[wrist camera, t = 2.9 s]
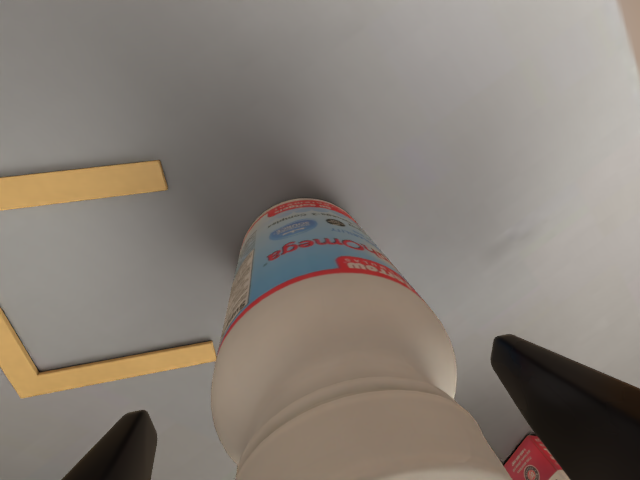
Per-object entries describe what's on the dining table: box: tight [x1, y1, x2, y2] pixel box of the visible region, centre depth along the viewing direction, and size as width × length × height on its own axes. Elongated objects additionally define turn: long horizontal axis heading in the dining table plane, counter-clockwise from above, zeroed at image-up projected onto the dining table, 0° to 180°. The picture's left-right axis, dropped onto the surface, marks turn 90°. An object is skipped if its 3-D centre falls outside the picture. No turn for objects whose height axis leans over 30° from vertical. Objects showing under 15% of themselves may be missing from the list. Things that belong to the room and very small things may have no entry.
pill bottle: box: [211, 198, 512, 480], centre depth 10 cm, size 6×6×11 cm
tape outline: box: [0, 160, 217, 398], centre depth 13 cm, size 10×9×1 cm
